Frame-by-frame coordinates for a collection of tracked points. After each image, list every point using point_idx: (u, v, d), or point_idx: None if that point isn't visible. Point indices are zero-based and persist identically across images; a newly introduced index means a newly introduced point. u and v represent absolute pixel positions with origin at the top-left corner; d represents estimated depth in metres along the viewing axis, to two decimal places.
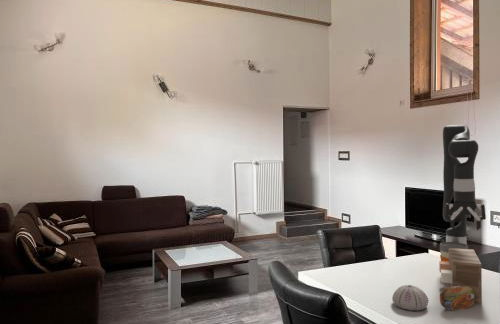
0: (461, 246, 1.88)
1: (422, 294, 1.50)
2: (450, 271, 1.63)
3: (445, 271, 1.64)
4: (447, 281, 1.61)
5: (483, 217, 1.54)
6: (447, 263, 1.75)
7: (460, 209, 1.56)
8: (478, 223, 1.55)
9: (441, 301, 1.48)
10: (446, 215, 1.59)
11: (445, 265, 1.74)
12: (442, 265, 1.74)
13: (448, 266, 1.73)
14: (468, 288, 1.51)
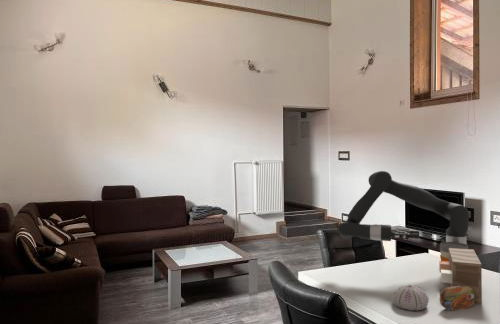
0: (461, 246, 1.88)
1: (422, 294, 1.50)
2: (450, 271, 1.63)
3: (445, 271, 1.64)
4: (447, 281, 1.61)
5: None
6: (447, 263, 1.75)
7: None
8: None
9: (441, 301, 1.48)
10: None
11: (445, 265, 1.74)
12: (442, 265, 1.74)
13: (448, 266, 1.73)
14: (468, 288, 1.51)
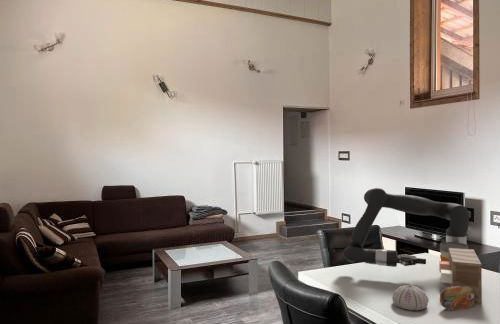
0: (461, 246, 1.88)
1: (422, 294, 1.50)
2: (450, 271, 1.63)
3: (445, 271, 1.64)
4: (447, 281, 1.61)
5: None
6: (447, 263, 1.75)
7: None
8: (419, 263, 1.80)
9: (441, 301, 1.48)
10: None
11: (445, 265, 1.74)
12: (442, 265, 1.74)
13: (448, 266, 1.73)
14: (468, 288, 1.51)
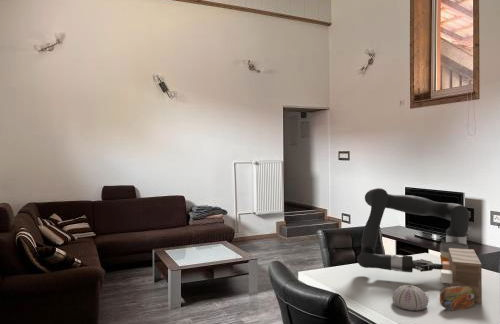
0: (461, 246, 1.88)
1: (422, 294, 1.50)
2: (450, 271, 1.63)
3: (445, 271, 1.64)
4: (447, 281, 1.61)
5: None
6: None
7: None
8: None
9: (441, 301, 1.48)
10: None
11: (448, 265, 1.73)
12: (445, 266, 1.74)
13: None
14: (468, 288, 1.51)
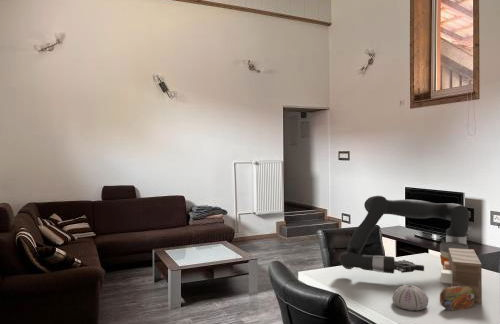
0: (461, 246, 1.88)
1: (422, 294, 1.50)
2: (450, 271, 1.63)
3: (445, 271, 1.64)
4: (447, 281, 1.61)
5: None
6: None
7: None
8: (417, 270, 1.75)
9: (441, 301, 1.48)
10: None
11: None
12: (447, 266, 1.73)
13: None
14: (468, 288, 1.51)
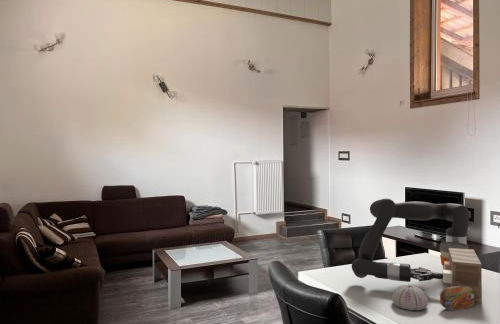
0: (461, 246, 1.88)
1: (422, 294, 1.50)
2: None
3: (446, 271, 1.64)
4: (449, 281, 1.61)
5: None
6: None
7: None
8: (435, 278, 1.64)
9: (441, 301, 1.48)
10: None
11: None
12: (447, 266, 1.73)
13: None
14: (468, 288, 1.51)
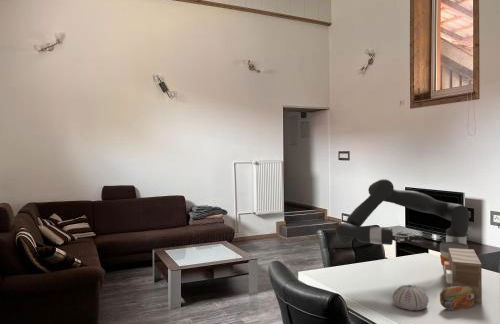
0: (461, 246, 1.88)
1: (422, 294, 1.50)
2: None
3: (450, 271, 1.63)
4: None
5: None
6: None
7: None
8: None
9: (441, 301, 1.48)
10: None
11: None
12: (447, 266, 1.73)
13: None
14: (468, 288, 1.51)
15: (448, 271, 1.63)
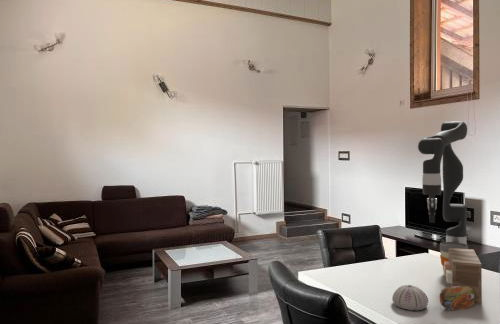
0: (461, 246, 1.88)
1: (422, 294, 1.50)
2: None
3: (450, 271, 1.63)
4: None
5: (429, 211, 1.70)
6: None
7: None
8: (429, 216, 1.72)
9: (441, 301, 1.48)
10: None
11: None
12: (447, 266, 1.73)
13: None
14: (468, 288, 1.51)
15: (448, 271, 1.63)
